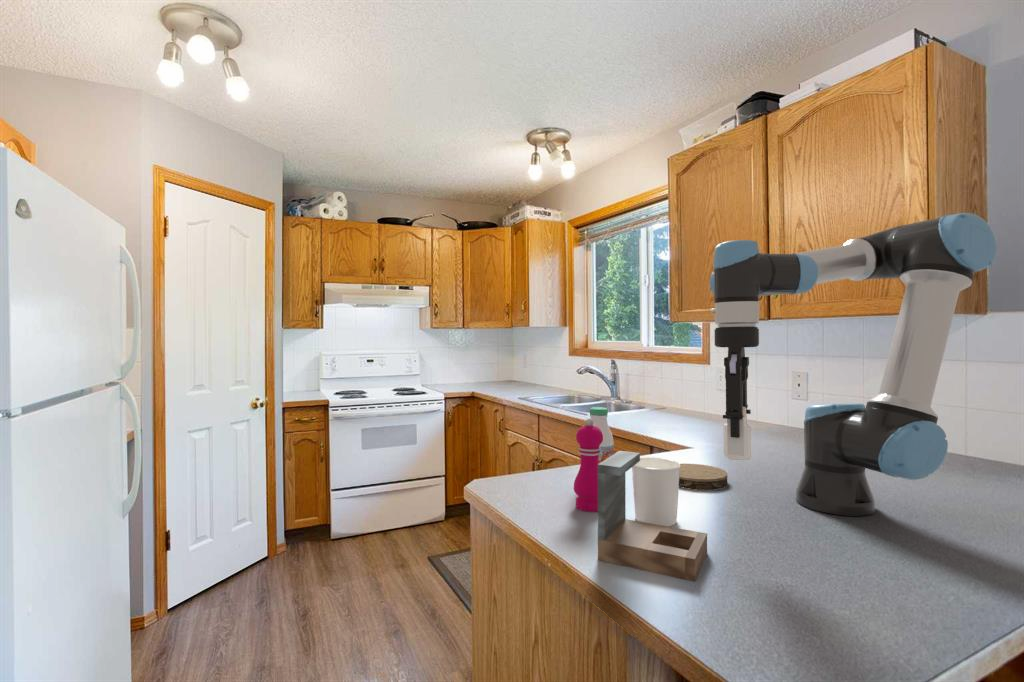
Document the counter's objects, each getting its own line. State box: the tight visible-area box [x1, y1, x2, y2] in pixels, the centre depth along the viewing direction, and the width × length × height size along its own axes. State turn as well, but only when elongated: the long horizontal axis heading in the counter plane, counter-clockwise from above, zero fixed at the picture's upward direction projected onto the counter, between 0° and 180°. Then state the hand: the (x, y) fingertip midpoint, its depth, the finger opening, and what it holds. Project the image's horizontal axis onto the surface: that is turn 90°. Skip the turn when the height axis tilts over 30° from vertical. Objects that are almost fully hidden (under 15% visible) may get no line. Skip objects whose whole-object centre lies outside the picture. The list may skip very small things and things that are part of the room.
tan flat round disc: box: [679, 463, 728, 491], centre depth 136 cm, size 16×16×3 cm
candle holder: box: [631, 457, 681, 527], centre depth 107 cm, size 10×10×12 cm
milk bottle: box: [589, 406, 615, 463], centre depth 132 cm, size 8×8×20 cm
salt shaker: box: [722, 407, 752, 461], centre depth 95 cm, size 4×4×10 cm
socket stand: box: [597, 450, 708, 582], centre depth 90 cm, size 16×12×16 cm
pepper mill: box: [573, 418, 603, 513], centre depth 115 cm, size 7×7×20 cm
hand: (737, 451), depth 95 cm, fingers closed on salt shaker, 5 cm apart
